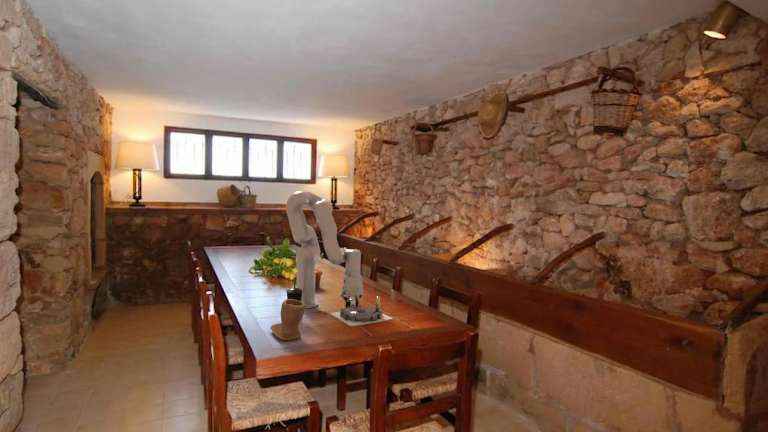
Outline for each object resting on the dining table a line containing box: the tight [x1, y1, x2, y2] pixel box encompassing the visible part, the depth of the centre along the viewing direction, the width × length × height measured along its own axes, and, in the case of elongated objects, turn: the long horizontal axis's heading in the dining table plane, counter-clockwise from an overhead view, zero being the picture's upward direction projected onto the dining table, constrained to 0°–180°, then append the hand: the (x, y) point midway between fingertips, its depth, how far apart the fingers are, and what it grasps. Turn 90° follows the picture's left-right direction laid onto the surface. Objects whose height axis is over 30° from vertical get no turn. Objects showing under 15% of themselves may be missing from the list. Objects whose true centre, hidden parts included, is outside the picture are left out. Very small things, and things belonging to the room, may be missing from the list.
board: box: [330, 311, 394, 328], centre depth 205 cm, size 23×21×1 cm
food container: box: [295, 268, 323, 291], centre depth 262 cm, size 16×16×11 cm
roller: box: [349, 297, 356, 307], centre depth 219 cm, size 4×4×5 cm
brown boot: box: [270, 298, 306, 341], centre depth 175 cm, size 15×12×15 cm
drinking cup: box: [286, 276, 303, 301], centre depth 198 cm, size 8×8×20 cm
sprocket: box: [339, 295, 384, 322], centre depth 205 cm, size 21×21×9 cm
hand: (351, 307), depth 219 cm, fingers closed on roller, 4 cm apart
